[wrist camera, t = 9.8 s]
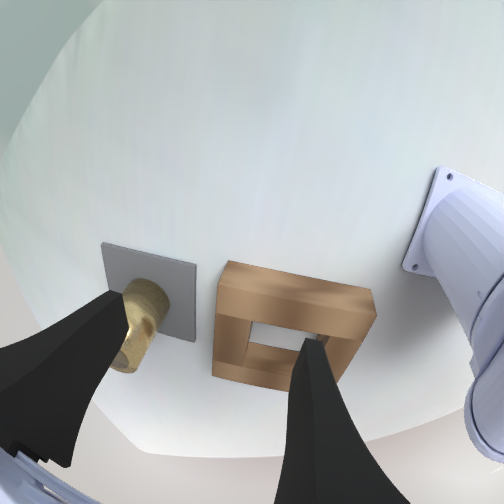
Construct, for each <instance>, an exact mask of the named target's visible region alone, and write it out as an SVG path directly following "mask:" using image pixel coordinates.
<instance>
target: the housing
mask: <svg viewBox="0 0 504 504" xmlns="http://www.w3.org/2000/svg"><path fill="white" fill-rule="evenodd" d="M376 317H377V314H376V310H375V305H374V301H373V298H372V294H371V290H370V289H366V288H361V287H356V286H351V285H346V284H341V283H336V282H331V281H326V280H321V279H316V278H311V277H306V276H301V275H296V274H291V273H286V272H282V271H277V270H272V269H267V268H262V267H257V266H253V265H248V264H243V263H238V262H234V261H228V263H227V265H226V267H225V269H224V272H223V274H222V276H221V278H220V280H219V283H218V287H217V301H216V315H215V330H214V346H213V363H212V376H215V377H219V378H223V379H227V380H231V381H235V382H240V383H244V384H249V385H254V386H259V387H264V388H269V389H274V390H280V391H286V392H289V388H290V381H291V375H292V370H293V367H294V365H295V363H296V360H297V358H298V355H299V353H300V352H298V351H292V350H287V349H281V348H276V347H271V346H266V345H261V344H256V343H252V342H249V338H250V333H251V328H252V323H253V321H255V322H260V323H264V324H269V325H274V326H279V327H284V328H289V329H294V330H300V331H305V332H311V333H317V334H318V336H317V339H316V340H320V341H322V342H323V343H324V347H325V351H326V354H327V357H328V361H329V364H330V367H331V370H332V373H333V375H334V378H335V381H336V384H337V382H338V381H339V379H340V378H341V376H342V374H343V373H344V371H345V370H346V368H347V367H348V365H349V363H350V362H351V360H352V359H353V357H354V355H355V354H356V352H357V350H358V349H359V347H360V345H361V343H362V342H363V340H364V338H365V337H366V335H367V333H368V331H369V329H370V328H371V326H372V324H373V322H374V320H375V318H376Z"/></svg>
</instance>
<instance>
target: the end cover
mask: <svg viewBox="0 0 504 504" xmlns="http://www.w3.org/2000/svg"><path fill="white" fill-rule="evenodd" d="M121 294H122V296H123V301H124V306H125V311H126V315H127V320H128V324H129V331H128V333H127V336H126V338H125V340H124V342H123V344H122V347H121V349H120V350H119V352H118V354H117V355H116V357H115V359H114V360H113V362H112V364H111V365H110V367H111V368H112V369H114V370H117V371H119V372H123V373H133V372H135V371H136V370H137V368H138V366H139V364H140V362H141V360H142V359H143V357H144V355H145V353H146V351H147V349H148V347H149V346H150V344H151V342H152V340H153V338H154V337H155V335H156V333H157V331H158V329H159V328H160V326H161V324H162V322H163V320H164V319H165V317H166V315H167V313H168V312H169V309H170V301H169V298H168V296H167V294H166V293H165V291H164V290H163V289H162V288H161V287H160V286H159V285H157V284H156V283H154V282H152V281H150V280H148V279H143V278H137V279H134V280H132V281H131V282H130V283H129V284H128V285H127V287H126V288H125V289H124V290H123V292H122V293H121Z"/></svg>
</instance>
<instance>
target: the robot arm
mask: <svg viewBox="0 0 504 504" xmlns="http://www.w3.org/2000/svg"><path fill="white" fill-rule="evenodd" d="M449 173H450V174H451V176H450V178H449V179H447V175H448V174H449ZM415 264H417V265H416V267H413V265H415ZM402 266H403V268H404V270H405V271H407V272H412V273H416V274H420V275H425V276H429V277H434V278H437V279H438V281H439V283H440V285H441V286H442V288H443V290H444V292H445V294H446V296H447V298H448V299H449V301H450V303H451V305H452V307H453V309H454V311H455V313H456V315H457V317H458V319H459V321H460V323H461V325H462V327H463V330H464V332H465V334H466V336H467V338H468V341H469V343H470V345H471V347H472V350H473V356H472V359H471V361H470V363H469V364H470V366H471V369H472V372H473V374H474V377H475V380H474V382H473V383H472V385H471V386H470V388H469V390H468V393H467V396H466V399H465V404H464V418H465V424H466V429H467V431H468V434H469V437H470V439H471V441H472V442H473V444H474V446H475V447H476V448H477V449H478V451H479V452H481V453H482V454H483V455H484V456H485V457H487V458H489V459H491V460H493V461H497V462H500V463H504V194H502V193H500V192H498V191H497V190H495V189H493V188H491V187H489V186H487V185H485V184H483V183H481V182H478V181H476V180H474V179H472V178H470V177H468V176H466V175H463V174H461V173H459V172H456V171H454V170H452V169H449V168H447V167H445V166H440V167H438V168H437V170H436V173H435V177H434V180H433V183H432V186H431V189H430V192H429V196H428V199H427V201H426V204H425V207H424V210H423V213H422V216H421V218H420V221H419V224H418V226H417V229H416V232H415V234H414V237H413V239H412V242H411V244H410V247H409V249H408V251H407V254H406V256H405V258H404V261H403V264H402ZM128 331H129V324H128V320H127V315H126V311H125V306H124V301H123V296H122V294H121V293H118V292H115V291H112V290H109V291H107V292H105V293H104V294H102V295H100V296H99V297H97V298H96V299H94V300H92V301H91V302H89V303H88V304H86V305H85V306H83V307H81V308H80V309H78V310H77V311H75V312H73V313H72V314H70V315H69V316H67V317H65V318H64V319H62V320H60V321H59V322H57V323H55V324H53V325H52V326H50V327H48V328H46V329H45V330H43V331H41V332H39V333H37V334H35V335H33V336H30V337H29V338H26V339H24V340H21V341H19V342H16V343H14V344H11V345H9V346H6V347H3V348H0V504H71V503H72V504H102V503H100V502H98V501H96V500H94V499H92V498H91V497H89V496H87V495H85V494H83V493H81V492H80V491H78V490H76V489H75V488H73V487H71V486H70V485H68V484H67V483H65V482H63V481H62V480H60V479H59V478H57V477H56V476H54V475H53V474H51V473H49V472H48V471H47V470H45V469H44V468H43V467H41V466H40V465H39V464H37V462H38V460H39V459H41V460H42V461H43V462H45V463H47V462H48V460H49V459H51V460H52V461H54V462H56V463H57V464H58V465H60V466H61V467H63V468H67V467H70V466H71V461H72V456H73V451H74V446H75V443H76V439H77V436H78V432H79V429H80V426H81V423H82V421H83V418H84V415H85V412H86V410H87V408H88V405H89V403H90V400H91V398H92V396H93V394H94V392H95V390H96V388H97V387H98V385H99V383H100V382H101V380H102V378H103V377H104V375H105V373H106V372H107V370H108V368H109V367H110V365H111V364H112V362H113V360H114V359H115V357H116V355H117V354H118V352H119V350H120V349H121V347H122V344H123V342H124V340H125V338H126V336H127V333H128ZM43 485H44V486H46V487H47V488H49V489H50V490H52V491H53V492H55V493H56V494H58V495H59V496H61V497H62V498H61V497H59V496H58V495H55V494H54V493H52V492H50V491H48V490H46V489H44V486H43ZM63 498H64V499H63ZM66 500H67V501H66ZM69 502H70V503H69ZM274 504H410V502H409V501H408V500H407V499H406V498H405V497H404V496H403V495H402V494H401V493H400V492H399V490H398V489H397V488H396V487H395V486H394V485H393V484H392V482H391V481H390V480H389V478H388V477H387V476H386V475H385V473H384V472H383V471H382V469H381V468H380V466H379V465H378V463H377V462H376V460H375V459H374V457H373V456H372V455H371V453H370V452H369V450H368V448H367V447H366V445H365V443H364V442H363V440H362V438H361V436H360V434H359V433H358V431H357V429H356V427H355V425H354V423H353V421H352V419H351V417H350V415H349V413H348V410H347V408H346V406H345V404H344V401H343V399H342V396H341V394H340V391H339V389H338V386H337V384H336V381H335V378H334V375H333V373H332V370H331V367H330V364H329V361H328V357H327V354H326V351H325V347H324V343H323V342H322V341H320V340H314V339H308V338H305V341H304V343H303V346H302V348H301V351H300V353H299V355H298V358H297V360H296V363H295V365H294V367H293V370H292V375H291V381H290V388H289V395H288V414H287V433H286V447H285V455H284V460H283V465H282V470H281V475H280V480H279V484H278V489H277V493H276V497H275V501H274Z"/></svg>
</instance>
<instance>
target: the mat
mask: <svg viewBox="0 0 504 504" xmlns="http://www.w3.org/2000/svg"><path fill="white" fill-rule="evenodd" d="M101 249H102V255H103V261H104V267H105V272H106V277H107V282H108V287H109V290H112V291H115V292H118V293H122V292H123V290H124V289H125V288H126V287H127V285H128V284H129V283H130V282H131V281H132V280H134V279H137V278H143V279H148V280H150V281H152V282H154V283H156V284H157V285H159V286H160V287H161V288H162V289H163V290H164V291H165V293H166V294H167V296H168V298H169V301H170V309H169V312H168V313H167V315H166V317H165V319H164V320H163V322H162V324H161V326H160V328H159V329H158V331H157V332H159V333H163V334H166V335H169V336H173V337H176V338H180V339H183V340H187V341H190V342H194V343H195V340H196V264H192V263H188V262H184V261H179V260H175V259H171V258H166V257H162V256H158V255H153V254H149V253H145V252H141V251H137V250H133V249H128V248H124V247H120V246H116V245H112V244H108V243H104V242H103V243H102V244H101Z"/></svg>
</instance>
